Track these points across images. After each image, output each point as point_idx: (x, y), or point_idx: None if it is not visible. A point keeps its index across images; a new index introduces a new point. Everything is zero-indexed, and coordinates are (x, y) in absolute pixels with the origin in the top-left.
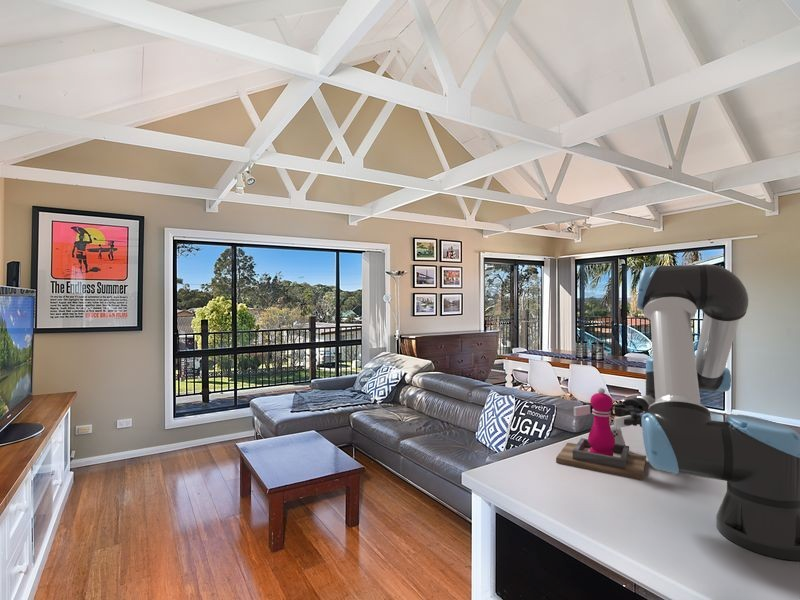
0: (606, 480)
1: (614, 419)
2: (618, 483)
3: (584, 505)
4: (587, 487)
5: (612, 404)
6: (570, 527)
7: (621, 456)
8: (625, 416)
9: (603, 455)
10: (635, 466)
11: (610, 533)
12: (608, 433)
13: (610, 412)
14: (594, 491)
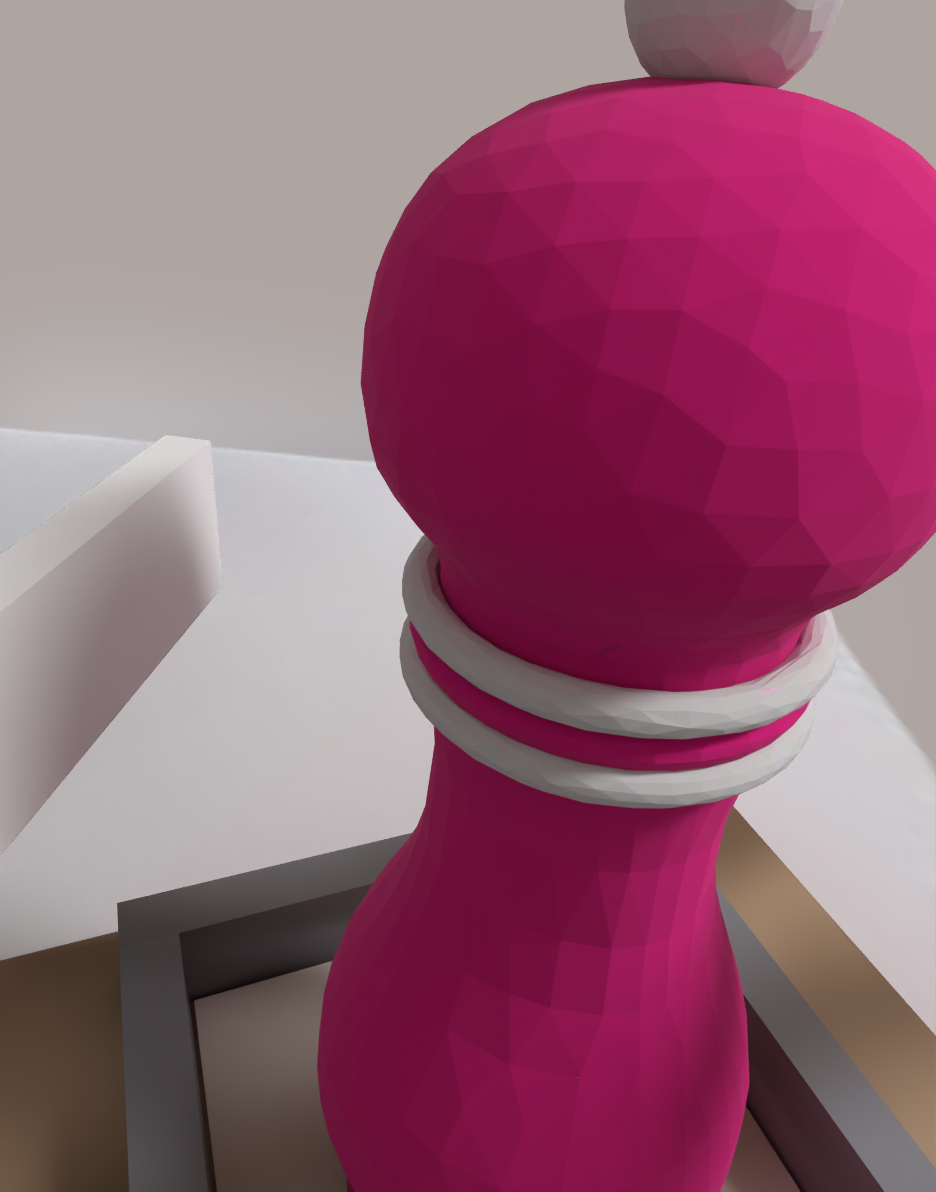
0: (247, 789)
1: (199, 460)
2: (153, 800)
3: (239, 536)
4: (304, 649)
5: (365, 398)
6: (222, 450)
7: (174, 981)
8: (16, 557)
9: (355, 859)
10: (11, 1173)
11: (97, 471)
12: (388, 864)
13: (404, 600)
14: (253, 636)
